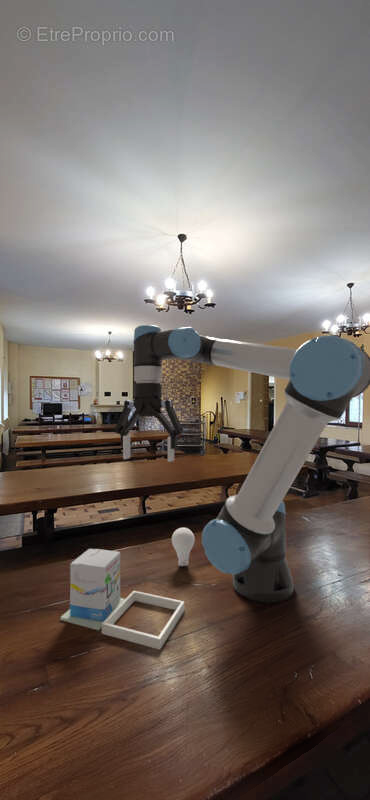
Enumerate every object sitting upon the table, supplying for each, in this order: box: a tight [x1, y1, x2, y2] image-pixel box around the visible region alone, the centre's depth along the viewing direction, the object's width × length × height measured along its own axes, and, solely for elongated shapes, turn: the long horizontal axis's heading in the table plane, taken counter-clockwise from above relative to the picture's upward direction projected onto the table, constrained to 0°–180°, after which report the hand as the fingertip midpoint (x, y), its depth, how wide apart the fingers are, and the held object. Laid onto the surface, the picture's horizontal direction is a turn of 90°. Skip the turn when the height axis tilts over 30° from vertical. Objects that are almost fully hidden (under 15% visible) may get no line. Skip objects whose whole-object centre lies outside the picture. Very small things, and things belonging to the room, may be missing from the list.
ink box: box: [69, 548, 121, 621], centre depth 78 cm, size 8×8×12 cm
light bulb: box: [171, 527, 196, 567], centre depth 98 cm, size 7×7×11 cm
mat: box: [59, 597, 126, 631], centre depth 78 cm, size 10×11×1 cm
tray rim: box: [101, 590, 186, 650], centre depth 74 cm, size 13×13×2 cm
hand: (148, 459), depth 94 cm, fingers open, 13 cm apart
